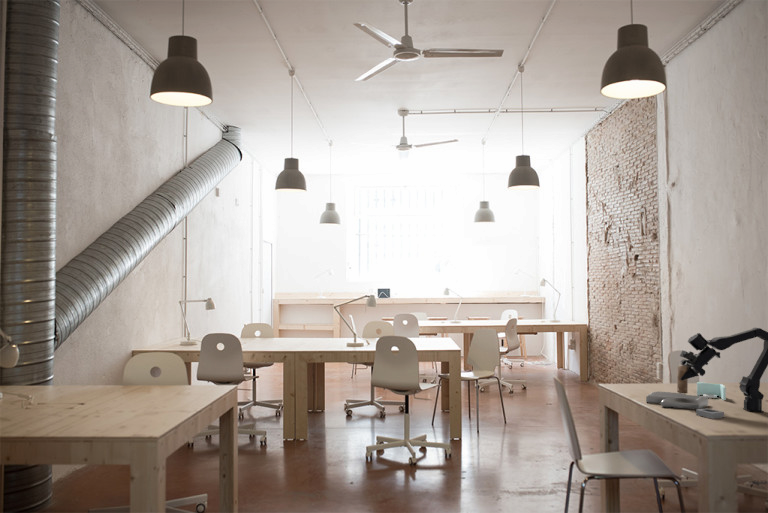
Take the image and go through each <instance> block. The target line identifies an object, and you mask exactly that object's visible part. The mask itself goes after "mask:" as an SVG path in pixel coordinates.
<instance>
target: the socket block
mask: <svg viewBox="0 0 768 513" xmlns="http://www.w3.org/2000/svg"><path fill="white" fill-rule="evenodd" d="M695 415H696V416H698V415H699V417H702V416H703V418H706V417H707V419H712V420H715V418H716V419H723V418H722V417H724V418H725V411H722V410H716V409H712V408H708V407H705V408H702V409H695Z"/></svg>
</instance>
